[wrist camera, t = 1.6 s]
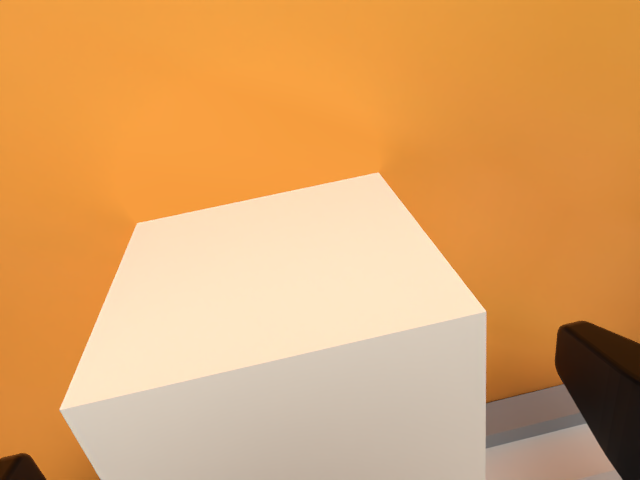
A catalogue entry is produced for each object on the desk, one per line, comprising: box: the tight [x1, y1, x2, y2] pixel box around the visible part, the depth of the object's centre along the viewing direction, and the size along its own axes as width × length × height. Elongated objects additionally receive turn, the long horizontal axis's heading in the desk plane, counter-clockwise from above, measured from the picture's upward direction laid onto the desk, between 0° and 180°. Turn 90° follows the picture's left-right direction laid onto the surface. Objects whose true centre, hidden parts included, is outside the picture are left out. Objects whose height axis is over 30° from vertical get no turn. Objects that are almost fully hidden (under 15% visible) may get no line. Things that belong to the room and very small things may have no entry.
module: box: [60, 173, 486, 480], centre depth 9 cm, size 5×5×5 cm
